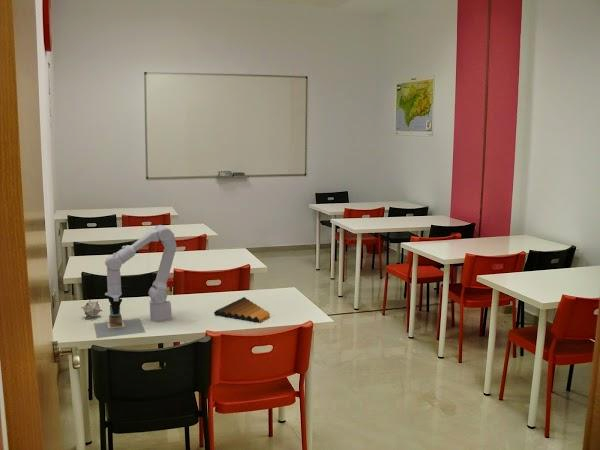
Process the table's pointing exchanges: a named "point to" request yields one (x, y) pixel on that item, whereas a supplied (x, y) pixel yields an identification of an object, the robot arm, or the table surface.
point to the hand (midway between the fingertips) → (115, 312)
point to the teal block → (112, 312)
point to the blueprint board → (119, 328)
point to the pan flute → (243, 311)
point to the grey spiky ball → (91, 309)
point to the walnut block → (115, 320)
